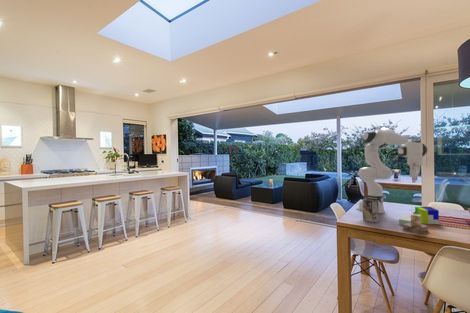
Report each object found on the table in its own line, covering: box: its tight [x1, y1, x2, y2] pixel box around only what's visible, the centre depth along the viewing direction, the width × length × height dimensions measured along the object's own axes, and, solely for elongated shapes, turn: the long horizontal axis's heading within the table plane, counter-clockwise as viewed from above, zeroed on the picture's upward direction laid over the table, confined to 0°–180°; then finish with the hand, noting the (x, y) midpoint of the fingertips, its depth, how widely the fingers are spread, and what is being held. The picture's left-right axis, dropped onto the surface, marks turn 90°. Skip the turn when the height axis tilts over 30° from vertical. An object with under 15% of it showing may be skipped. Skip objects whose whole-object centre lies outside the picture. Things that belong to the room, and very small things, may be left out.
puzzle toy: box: [414, 206, 440, 225], centre depth 174 cm, size 10×10×10 cm
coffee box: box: [362, 198, 379, 224], centre depth 181 cm, size 9×6×16 cm
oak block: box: [410, 212, 422, 227], centre depth 158 cm, size 5×5×7 cm
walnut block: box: [402, 222, 429, 235], centre depth 158 cm, size 10×10×4 cm
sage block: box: [398, 216, 411, 226], centre depth 170 cm, size 10×10×4 cm
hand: (414, 181), depth 169 cm, fingers open, 8 cm apart
